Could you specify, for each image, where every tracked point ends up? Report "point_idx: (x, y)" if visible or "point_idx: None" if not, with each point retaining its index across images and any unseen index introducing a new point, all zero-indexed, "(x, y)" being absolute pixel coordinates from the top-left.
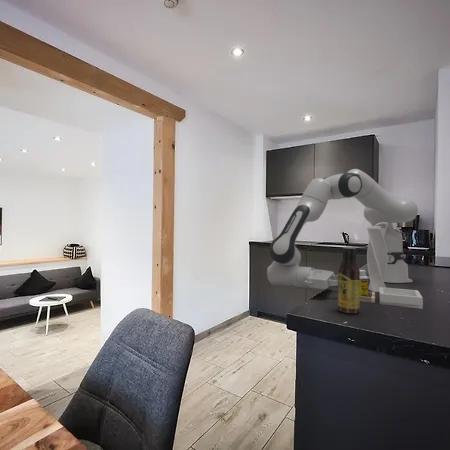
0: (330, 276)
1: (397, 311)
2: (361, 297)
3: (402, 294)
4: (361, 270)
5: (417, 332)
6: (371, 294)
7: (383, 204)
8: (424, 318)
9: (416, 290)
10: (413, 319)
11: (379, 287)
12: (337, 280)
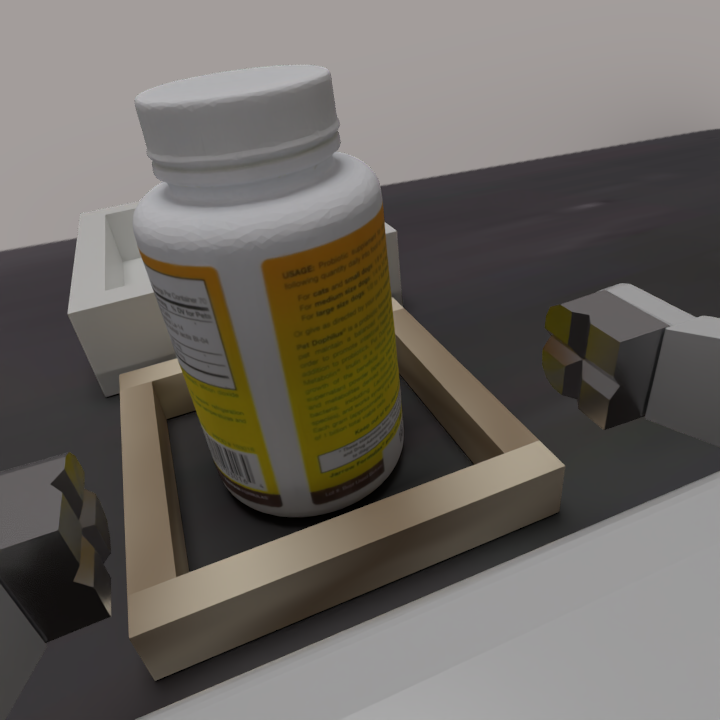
0: (561, 539)
1: (483, 238)
2: (445, 354)
3: (119, 272)
4: (235, 76)
5: (703, 157)
6: (159, 401)
7: None
8: (488, 190)
9: (86, 214)
10: (551, 193)
11: (70, 317)
12: (669, 318)
